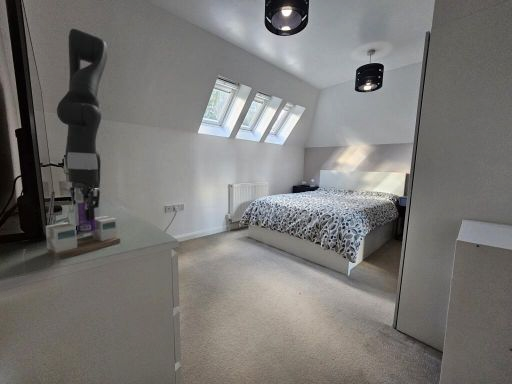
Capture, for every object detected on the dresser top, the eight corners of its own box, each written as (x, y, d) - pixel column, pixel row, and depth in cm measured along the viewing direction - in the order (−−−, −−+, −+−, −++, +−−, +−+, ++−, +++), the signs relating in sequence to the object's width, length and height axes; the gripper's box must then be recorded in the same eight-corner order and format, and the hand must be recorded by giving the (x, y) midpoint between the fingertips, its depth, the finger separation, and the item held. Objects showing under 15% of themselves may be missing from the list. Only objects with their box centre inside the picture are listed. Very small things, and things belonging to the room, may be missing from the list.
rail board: (47, 252, 67) (45, 225, 66) (106, 237, 82) (105, 215, 80) (60, 259, 62) (58, 231, 61) (120, 242, 77) (119, 219, 76)
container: (98, 230, 74) (96, 186, 72) (87, 234, 69) (84, 188, 67) (86, 229, 74) (84, 186, 72) (73, 233, 69) (70, 187, 67)
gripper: (58, 166, 69) (61, 218, 71) (80, 168, 62) (83, 225, 64) (85, 166, 75) (87, 214, 77) (108, 168, 69) (110, 220, 71)
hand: (85, 219), depth 71 cm, fingers closed on container, 4 cm apart
